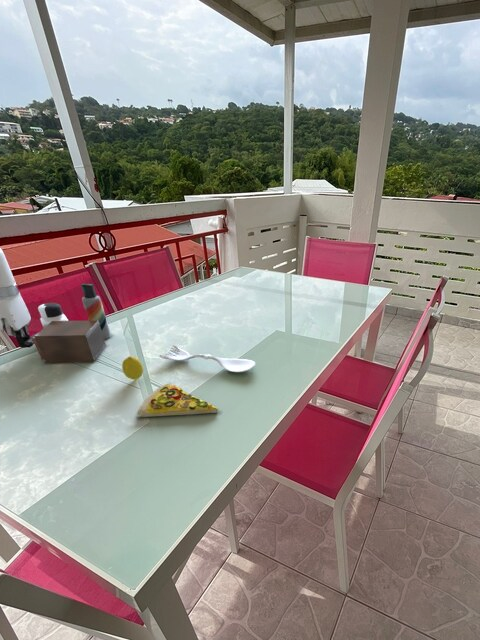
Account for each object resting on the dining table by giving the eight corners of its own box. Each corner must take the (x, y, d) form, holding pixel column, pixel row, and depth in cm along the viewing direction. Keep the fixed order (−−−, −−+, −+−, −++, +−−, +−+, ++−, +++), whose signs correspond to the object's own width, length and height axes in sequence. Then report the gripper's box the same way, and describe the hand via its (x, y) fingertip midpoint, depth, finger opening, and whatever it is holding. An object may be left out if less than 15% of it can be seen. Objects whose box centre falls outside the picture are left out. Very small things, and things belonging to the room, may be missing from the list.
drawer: (26, 360, 106) (16, 338, 102) (43, 345, 116) (34, 324, 111) (86, 359, 109) (79, 337, 105) (98, 344, 119) (91, 323, 114)
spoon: (174, 352, 118) (172, 343, 116) (259, 365, 113) (258, 356, 111) (160, 363, 111) (158, 354, 109) (250, 378, 106) (249, 369, 104)
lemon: (149, 378, 103) (143, 355, 98) (133, 386, 99) (127, 362, 94) (137, 373, 105) (131, 350, 101) (122, 380, 101) (115, 357, 97)
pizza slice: (164, 386, 100) (162, 378, 98) (229, 397, 97) (228, 389, 95) (132, 416, 87) (130, 407, 85) (205, 430, 84) (204, 421, 82)
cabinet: (45, 363, 107) (34, 336, 102) (62, 346, 117) (52, 321, 112) (94, 362, 110) (85, 335, 104) (106, 345, 120) (98, 320, 114)
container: (71, 333, 127) (59, 299, 120) (75, 340, 122) (63, 305, 115) (47, 337, 123) (33, 303, 115) (50, 345, 118) (36, 309, 111)
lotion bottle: (91, 338, 124) (73, 284, 113) (103, 333, 129) (86, 280, 117) (103, 341, 123) (86, 286, 111) (114, 335, 127) (99, 282, 116)
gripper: (2, 283, 104) (25, 337, 115) (-28, 298, 92) (1, 357, 103) (29, 284, 106) (49, 337, 116) (3, 298, 94) (28, 356, 104)
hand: (26, 346), depth 109 cm, fingers closed
